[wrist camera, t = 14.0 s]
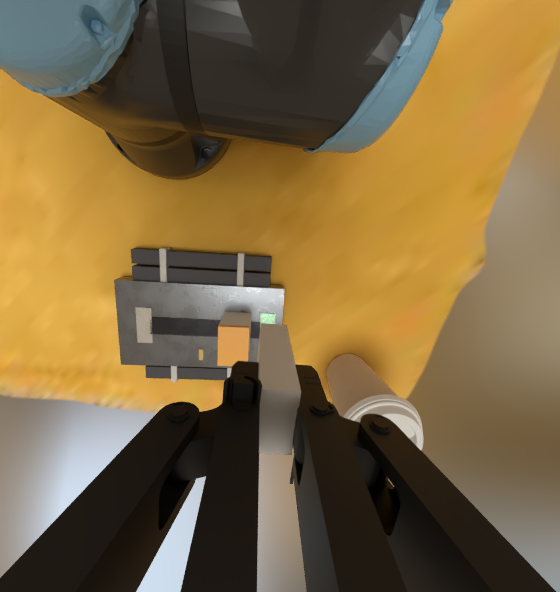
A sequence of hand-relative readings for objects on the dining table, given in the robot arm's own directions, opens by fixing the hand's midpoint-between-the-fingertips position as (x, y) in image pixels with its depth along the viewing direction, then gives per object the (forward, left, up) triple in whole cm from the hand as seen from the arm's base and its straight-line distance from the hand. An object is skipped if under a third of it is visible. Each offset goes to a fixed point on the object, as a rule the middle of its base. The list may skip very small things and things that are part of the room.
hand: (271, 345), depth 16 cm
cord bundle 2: (+15, -9, -24) cm, 29 cm away
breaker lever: (+7, -4, -21) cm, 23 cm away
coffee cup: (+15, +13, -24) cm, 31 cm away
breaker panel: (+7, -9, -24) cm, 26 cm away
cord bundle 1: (-1, -9, -24) cm, 25 cm away
